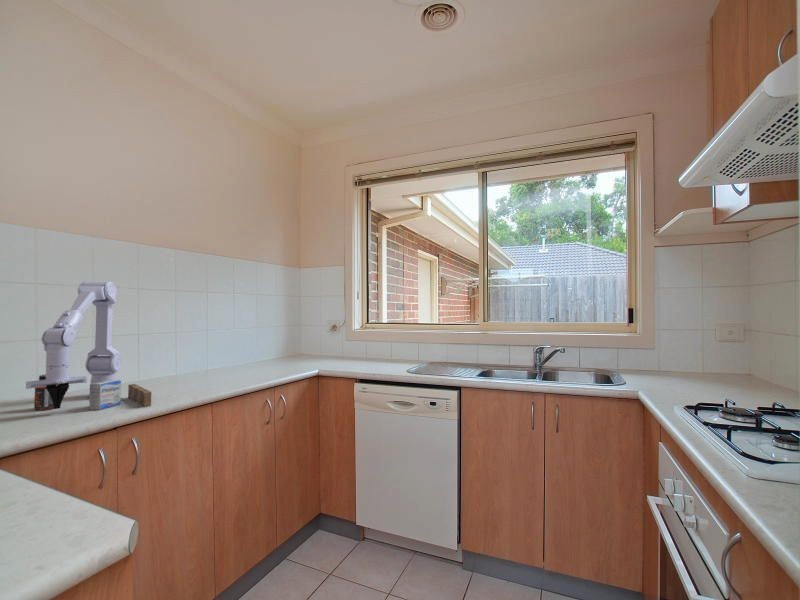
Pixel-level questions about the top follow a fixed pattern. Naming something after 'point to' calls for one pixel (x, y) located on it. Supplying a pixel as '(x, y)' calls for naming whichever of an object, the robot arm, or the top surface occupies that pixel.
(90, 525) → the top surface
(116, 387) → the medicine box
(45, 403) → the supplement bottle
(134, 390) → the walnut board
